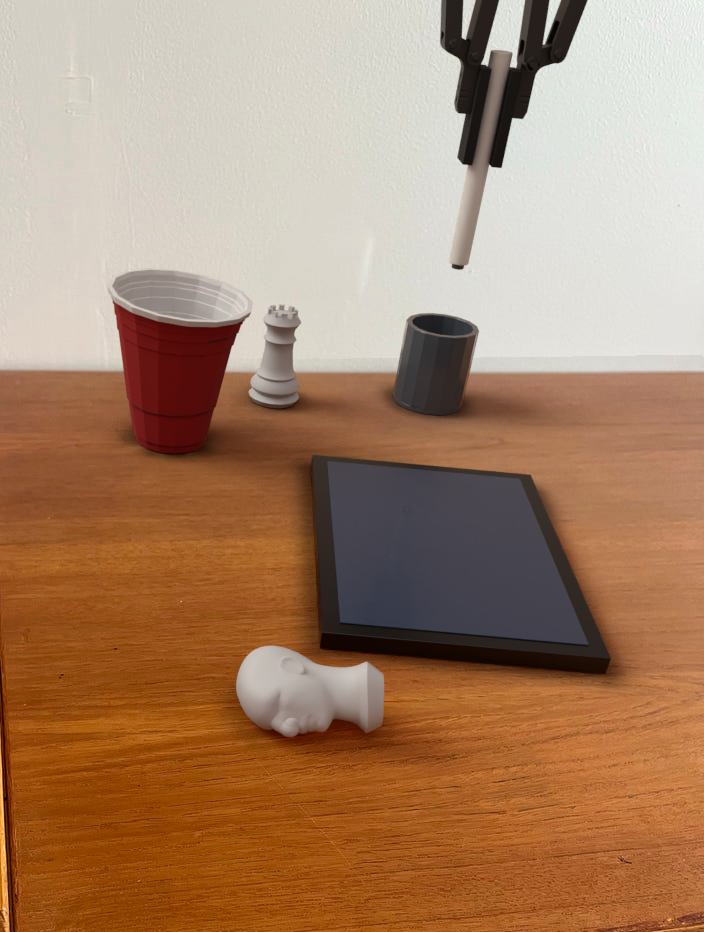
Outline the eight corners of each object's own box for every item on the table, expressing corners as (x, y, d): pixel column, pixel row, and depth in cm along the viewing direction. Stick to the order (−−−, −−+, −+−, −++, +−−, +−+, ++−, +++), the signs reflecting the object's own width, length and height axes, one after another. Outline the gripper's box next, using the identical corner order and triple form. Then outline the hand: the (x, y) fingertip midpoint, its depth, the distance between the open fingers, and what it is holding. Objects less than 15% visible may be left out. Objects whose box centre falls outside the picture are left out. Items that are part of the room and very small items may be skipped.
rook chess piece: (300, 393, 93) (311, 304, 88) (296, 412, 89) (307, 320, 84) (251, 387, 93) (259, 297, 88) (244, 406, 89) (253, 314, 85)
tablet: (527, 488, 80) (531, 473, 80) (605, 674, 61) (612, 657, 60) (310, 468, 80) (312, 453, 80) (319, 648, 61) (322, 631, 60)
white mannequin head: (222, 741, 55) (250, 667, 58) (369, 778, 53) (390, 700, 56) (219, 695, 52) (249, 619, 55) (376, 733, 50) (398, 652, 53)
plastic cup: (220, 480, 77) (233, 322, 70) (84, 453, 79) (84, 297, 72) (254, 425, 86) (269, 279, 79) (131, 402, 88) (135, 258, 81)
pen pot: (456, 391, 96) (472, 316, 92) (466, 418, 91) (483, 340, 87) (390, 385, 96) (403, 310, 92) (396, 411, 91) (410, 333, 87)
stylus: (465, 266, 85) (510, 50, 76) (468, 271, 84) (514, 53, 75) (446, 264, 85) (489, 49, 76) (449, 269, 84) (493, 51, 75)
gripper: (456, -251, 63) (390, 164, 77) (691, -228, 64) (584, 181, 77) (439, -237, 69) (381, 145, 83) (653, -216, 70) (560, 161, 83)
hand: (479, 162), depth 80 cm, fingers closed on stylus, 1 cm apart
